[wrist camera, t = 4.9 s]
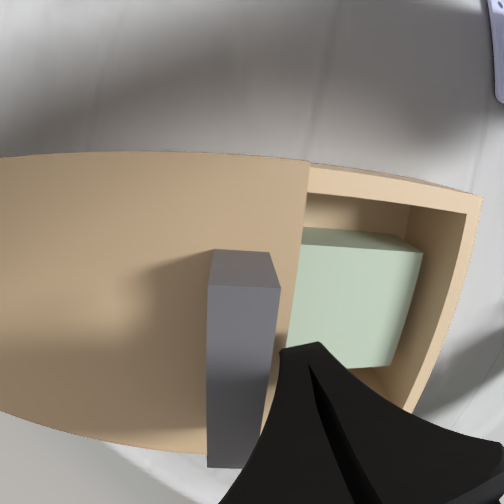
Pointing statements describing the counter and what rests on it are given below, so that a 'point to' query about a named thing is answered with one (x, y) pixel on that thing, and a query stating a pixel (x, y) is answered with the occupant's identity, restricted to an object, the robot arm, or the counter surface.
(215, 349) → the lid
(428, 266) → the box
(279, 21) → the counter surface
